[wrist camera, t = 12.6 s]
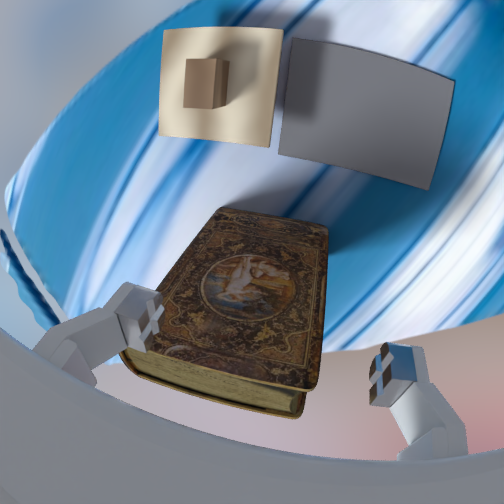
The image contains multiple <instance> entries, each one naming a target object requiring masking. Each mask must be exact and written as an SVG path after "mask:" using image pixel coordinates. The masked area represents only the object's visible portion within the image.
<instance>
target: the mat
mask: <svg viewBox="0 0 504 504" xmlns="http://www.w3.org/2000/svg"><path fill="white" fill-rule="evenodd" d="M453 87H454V82H453V81H451V80H449V79H447V78H444V77H442V76H439V75H437V74H434V73H432V72H429V71H427V70H424V69H421V68H419V67H416V66H413V65H410V64H407V63H404V62H401V61H398V60H395V59H392V58H388V57H385V56H381V55H378V54H374V53H370V52H366V51H362V50H358V49H354V48H350V47H345V46H340V45H335V44H330V43H325V42H319V41H313V40H306V39H299V38H293V40H292V49H291V57H290V65H289V73H288V81H287V89H286V97H285V104H284V112H283V120H282V128H281V135H280V143H279V150H278V155H284V156H290V157H295V158H300V159H305V160H310V161H315V162H320V163H325V164H330V165H334V166H339V167H343V168H347V169H351V170H356V171H360V172H364V173H368V174H372V175H375V176H379V177H383V178H387V179H390V180H394V181H397V182H401V183H404V184H408V185H411V186H414V187H418V188H421V189H424V190H427V191H428V190H429V187H430V184H431V180H432V177H433V174H434V170H435V167H436V163H437V160H438V156H439V153H440V149H441V145H442V141H443V137H444V133H445V128H446V124H447V119H448V114H449V110H450V104H451V99H452V93H453Z"/></svg>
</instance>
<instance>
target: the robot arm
mask: <svg viewBox="0 0 504 504" xmlns="http://www.w3.org/2000/svg"><path fill="white" fill-rule="evenodd" d="M162 302H163V295H162V293H160V292H157V291H154V290H151V289H148V288H145V287H142V286H139V285H135V284H132V283H129V282H125V283H123V284H122V285H121V286H120V288H119V289H118V290H117V291H116V292H115V294H114V295H113V296H112V297H111V298H110V299H109V301H108V302H107V303H106V304H105V306H104V307H103V308H100V307H99V308H97V309H94V310H92V311H89V312H87V313H85V314H82V315H80V316H78V317H75V318H73V319H70V320H68V321H66V322H63V323H61V324H59V325H56V326H54V327H52V328H50V329H49V330H48V331H47V333H46V334H45V335H44V336H43V338H42V339H41V340H40V341H39V342H38V344H37V345H36V346H35V347H34V349H33V350H31V349H29V348H28V347H26V346H25V345H23V344H22V343H20V342H19V341H18V340H16V339H15V338H13V337H12V336H11V335H9V334H8V333H7V332H6V331H4V330H3V329H2V328H0V504H504V448H502V449H497V450H492V451H487V452H482V453H476V454H470V455H468V446H467V437H466V429H465V425H464V423H463V422H462V420H461V419H460V418H459V416H458V415H457V414H456V412H455V411H454V410H453V408H452V407H451V406H450V404H449V403H448V402H447V401H446V399H445V398H444V397H443V395H442V394H441V393H440V391H439V390H438V389H437V388H436V386H435V385H434V384H433V383H430V381H429V375H428V370H427V364H426V360H425V355H424V350H423V348H422V347H418V346H409V345H404V344H395V343H389V342H385V343H384V344H383V345H382V347H381V348H380V350H381V354H379V355H377V356H375V358H374V360H373V361H372V364H371V367H370V373H369V380H370V381H371V383H372V384H373V386H372V387H371V389H370V405H372V406H381V407H390V410H391V412H392V414H393V416H394V418H395V420H396V422H397V424H398V426H399V427H400V429H401V431H402V433H403V435H404V437H405V439H406V441H407V443H408V445H409V446H408V447H407V448H405V449H404V450H402V451H401V452H399V453H398V454H397V460H395V461H384V460H383V461H382V460H381V461H380V460H354V459H341V458H330V457H320V456H311V455H304V454H298V453H291V452H286V451H280V450H275V449H270V448H265V447H260V446H255V445H251V444H246V443H242V442H238V441H234V440H230V439H227V438H223V437H219V436H216V435H212V434H209V433H206V432H202V431H199V430H196V429H193V428H190V427H187V426H184V425H181V424H178V423H175V422H173V421H170V420H167V419H164V418H162V417H159V416H157V415H154V414H152V413H149V412H147V411H144V410H142V409H139V408H137V407H135V406H132V405H130V404H128V403H126V402H123V401H121V400H119V399H117V398H115V397H113V396H111V395H109V394H106V393H104V392H102V391H100V390H98V389H96V388H95V385H96V384H97V380H96V378H95V377H94V375H93V373H92V371H91V370H92V369H94V368H96V367H97V366H99V365H100V364H102V363H104V362H105V361H107V360H109V359H110V358H112V357H113V356H115V355H117V354H118V353H120V352H121V351H123V350H125V349H126V348H127V347H130V348H133V349H136V350H138V351H141V352H144V353H147V352H148V350H149V349H150V347H151V345H152V344H153V342H154V336H153V335H154V334H156V333H158V332H160V330H161V328H162V327H163V324H164V321H165V309H164V307H163V306H162V305H161V303H162Z"/></svg>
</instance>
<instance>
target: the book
mask: <svg viewBox="0 0 504 504" xmlns="http://www.w3.org/2000/svg"><path fill="white" fill-rule="evenodd" d="M328 240H329V232H328V229H327V227H326V226H324V225H320V224H315V223H310V222H306V221H301V220H295V219H289V218H284V217H278V216H272V215H266V214H260V213H254V212H248V211H242V210H236V209H229V208H223V207H220V208H218V209H217V210H216V211H215V213H214V214H213V215H212V216H211V218H210V219H209V220H208V222H207V223H206V224H205V225H204V227H203V228H202V229H201V230H200V232H199V233H198V234H197V236H196V237H195V238H194V239H193V241H192V242H191V243H190V245H189V246H188V247H187V249H186V250H185V251H184V252H183V254H182V255H181V256H180V258H179V259H178V260H177V262H176V263H175V264H174V266H173V267H172V268H171V270H170V271H169V272H168V274H167V275H166V276H165V278H164V279H163V280H162V282H161V283H160V285H159V286H158V287H157V289H156V290H155V291H157V292H160V293H162V295H163V302H162V303H161V305H162V306H163V307H164V309H165V321H164V324H163V327H162V328H161V330H160V332H158V333H156V334H154V335H153V336H154V342H153V344H152V345H151V347H150V349H149V350H148V352H147V353H144V352H141V351H138V350H136V349H133V348H130V347H127V348H126V349H125V350H123V351H121V352H120V353H119V356H120V358H121V359H122V361H123V363H124V364H125V365H126V366H127V367H128V369H130V370H131V371H132V372H133V373H134V374H135V375H137V376H138V377H140V378H143V379H146V380H149V381H151V382H154V383H157V384H159V385H162V386H165V387H168V388H171V389H174V390H177V391H180V392H183V393H186V394H189V395H193V396H196V397H199V398H202V399H206V400H210V401H213V402H217V403H220V404H224V405H228V406H232V407H236V408H240V409H245V410H249V411H254V412H258V413H262V414H267V415H273V416H277V417H283V418H288V419H298V418H299V417H300V416H301V415H302V413H303V410H304V405H305V399H306V394H307V392H310V391H312V390H313V389H314V388H315V387H316V385H317V382H318V377H319V371H320V362H321V353H322V342H323V331H324V319H325V305H326V289H327V269H328Z"/></svg>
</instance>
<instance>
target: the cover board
mask: <svg viewBox="0 0 504 504" xmlns="http://www.w3.org/2000/svg"><path fill="white" fill-rule="evenodd" d="M283 34H284V30H282V29H271V28H255V27H197V28H182V29H170V30H164V36H163V47H162V60H161V76H160V98H159V136H170V137H183V138H195V139H205V140H214V141H223V142H231V143H239V144H246V145H253V146H260V147H267V148H269V147H270V141H271V133H272V125H273V117H274V109H275V101H276V92H277V84H278V76H279V68H280V59H281V51H282V42H283Z"/></svg>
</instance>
